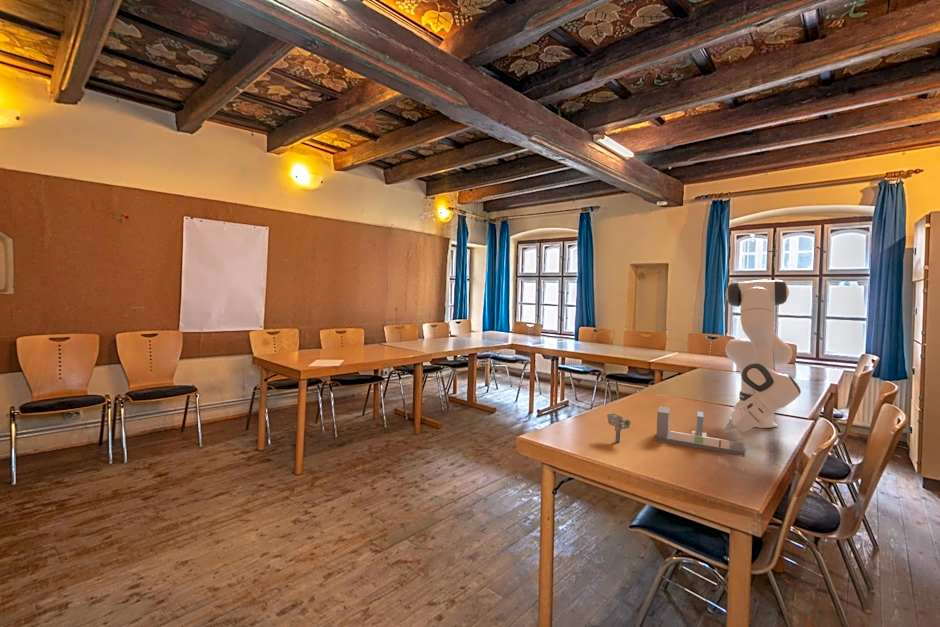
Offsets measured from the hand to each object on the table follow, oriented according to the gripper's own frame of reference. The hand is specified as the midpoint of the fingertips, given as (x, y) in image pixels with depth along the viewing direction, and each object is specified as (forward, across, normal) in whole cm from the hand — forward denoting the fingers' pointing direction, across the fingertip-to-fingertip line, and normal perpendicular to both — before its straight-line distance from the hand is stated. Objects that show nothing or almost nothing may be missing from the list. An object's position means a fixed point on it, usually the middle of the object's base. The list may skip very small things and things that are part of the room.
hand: (724, 430), depth 167 cm
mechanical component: (+31, +16, -21) cm, 40 cm away
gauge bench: (+11, 0, -1) cm, 11 cm away
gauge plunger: (+9, +1, -2) cm, 10 cm away
